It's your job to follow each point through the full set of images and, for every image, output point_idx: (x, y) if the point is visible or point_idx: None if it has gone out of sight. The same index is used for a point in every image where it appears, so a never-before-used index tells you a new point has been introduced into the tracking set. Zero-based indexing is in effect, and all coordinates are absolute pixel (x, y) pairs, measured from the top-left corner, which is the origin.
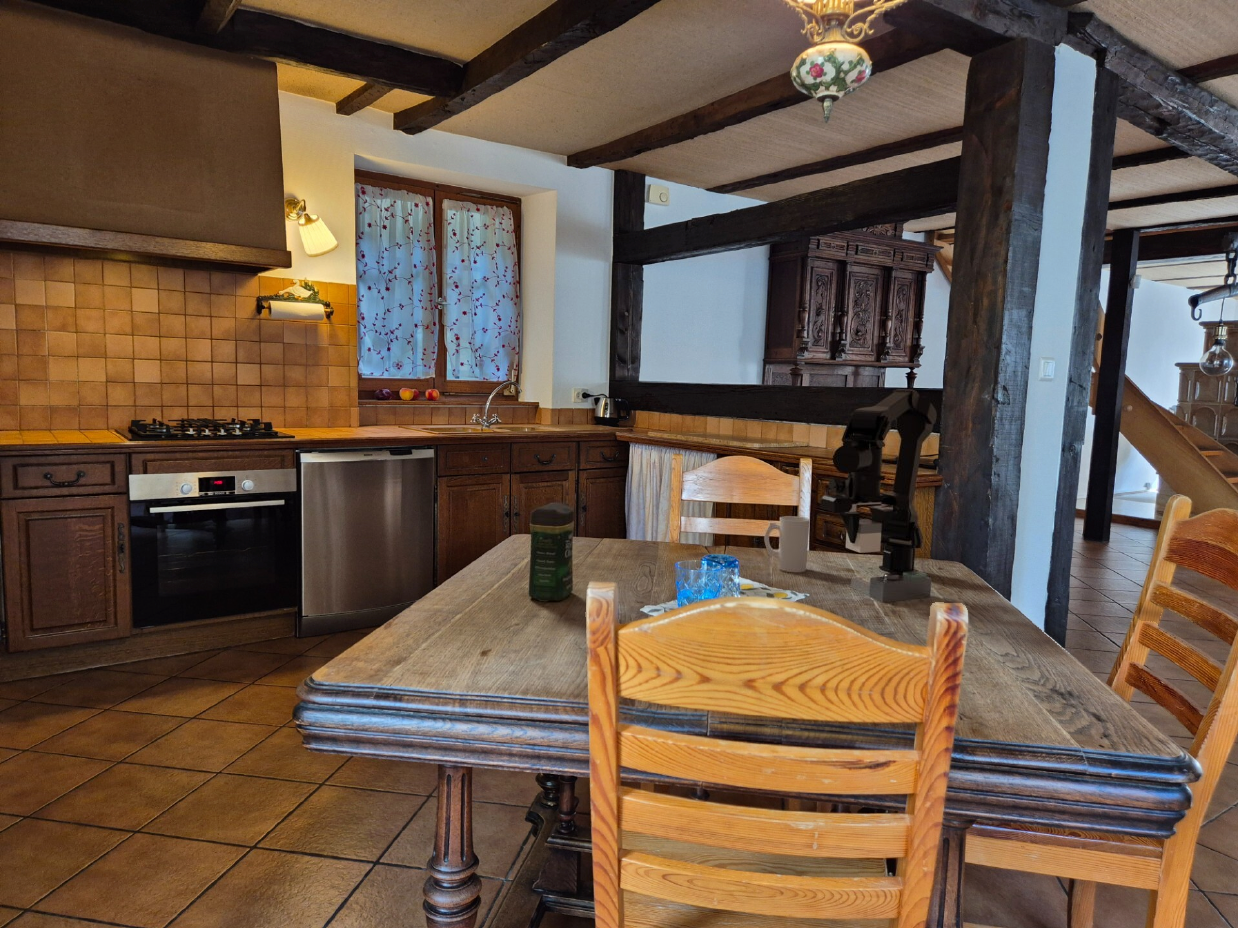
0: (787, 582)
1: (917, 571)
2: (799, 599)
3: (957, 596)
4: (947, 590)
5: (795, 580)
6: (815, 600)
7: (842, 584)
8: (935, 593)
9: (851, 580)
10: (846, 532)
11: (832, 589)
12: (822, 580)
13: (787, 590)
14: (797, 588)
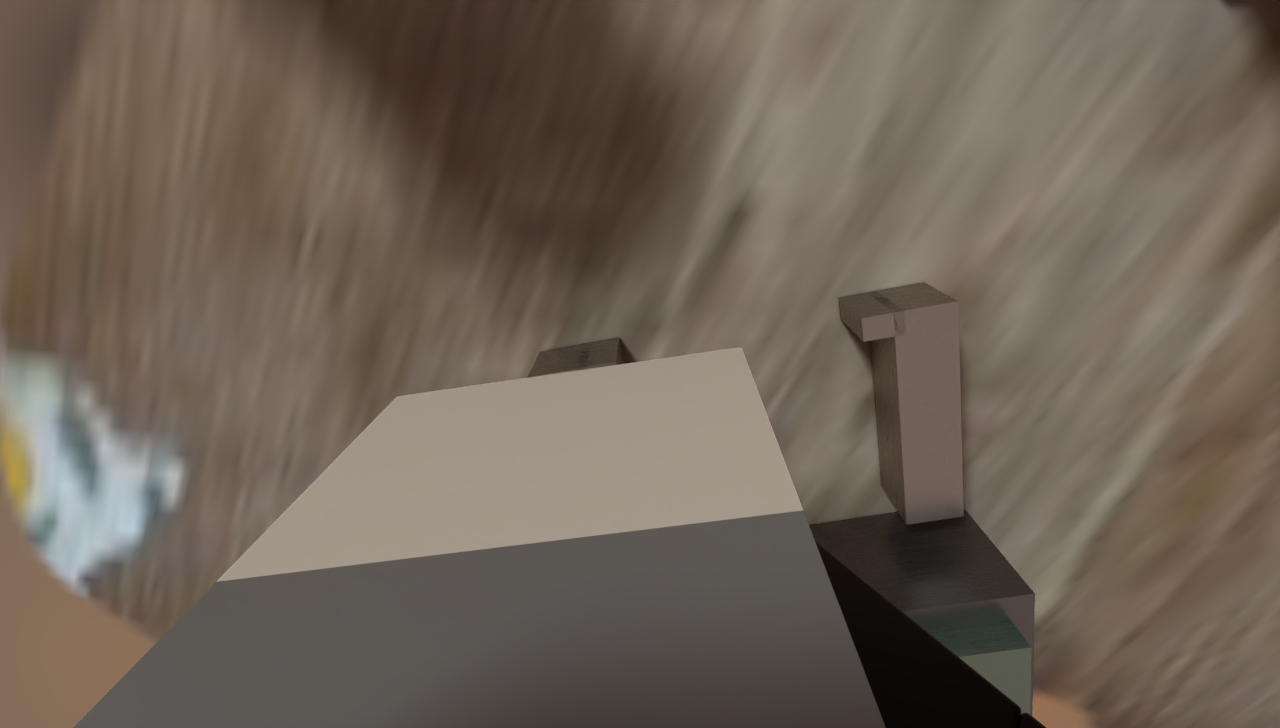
0: (53, 153)
1: (1002, 664)
2: (101, 565)
3: (1157, 607)
4: (1220, 485)
5: (132, 92)
6: (199, 591)
7: (510, 259)
8: (1069, 538)
9: (531, 374)
10: (263, 537)
11: (381, 384)
12: (379, 115)
13: (38, 376)
14: (119, 334)
